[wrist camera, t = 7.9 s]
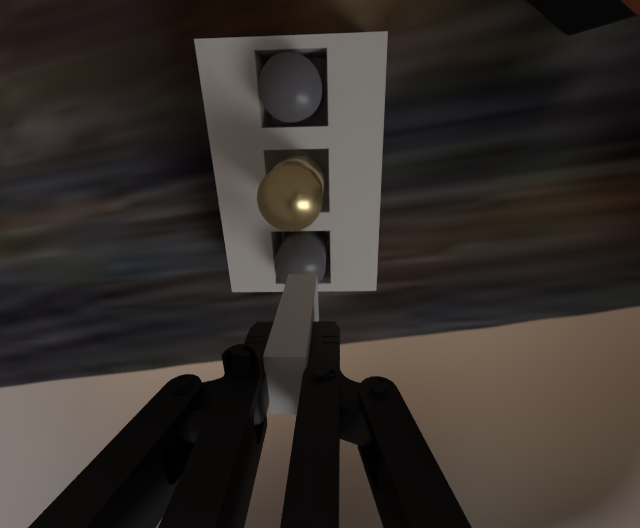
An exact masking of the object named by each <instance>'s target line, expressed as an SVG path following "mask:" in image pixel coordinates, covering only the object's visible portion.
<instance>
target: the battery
mask: <svg viewBox="0 0 640 528" xmlns="http://www.w3.org/2000/svg"><path fill="white" fill-rule="evenodd" d="M528 1H529V2H530V3H531V4H533V5H534V6H535V7H536V8H537V9H538V10H539V11H540V12H542V13H543V14H544V15H545V16H546V17H547V18H548V19H550V20H551V21H552V22H553V23H554V24H555V25H556V26H557V27H559V28H560V29H561V30H562V31H563V32H564V33H566V34H567V35H573V34H577V33H580V32H583V31H587V30H590V29H593V28H597V27H600V26H603V25H607V24H610V23H613V22H617V21H620V20H623V19H627V18H630V17H633V16H637V15H640V0H528Z"/></svg>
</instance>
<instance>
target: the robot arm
mask: <svg viewBox="0 0 640 528" xmlns="http://www.w3.org/2000/svg"><path fill="white" fill-rule="evenodd" d="M318 321H319V313H318V284H317V274H288V278H287V281H286V284H285V287H284V291H283V294H282V297H281V300H280V303H279V307H278V310H277V313H276V316H275V320H274V322H257V323H256V324H254V325H253V326H252V327H251V328H250V330H249V332H248V335H247V337H246V340H245V344H238V345H235V346H232V347H230V348H228V349H227V350H225V351H224V353H223V354H222V360H223V366H224V371H225V374H224V376H223V377H222V378H219V379H216V380H212V381H207V382H203V383H202V382H201V380H200V378H199V377H198V376H196V375H193V374H192V375H191V374H185V375H181V376H178V377H175V378H173V379H171V380H170V381H169V382H168V383H166V384H165V386H164V387H162V389H161V390H160V391H159V392H158V393H157V394H156V395H155V396H154V397H153V398H152V399H151V400H150V401H149V402H148V403H147V404H146V405H145V406H144V407H143V408H142V409H141V410H140V411H139V412H138V414H137V415H136V416H135V417H134V418H133V419H132V420H131V421H130V422H129V423H128V424H127V425H126V426H125V427H124V428H123V429H122V430H121V431H120V432H119V433H118V434H117V435H116V436H115V437H114V439H113V440H112V441H111V442H110V443H109V444H108V445H107V446H106V447H105V448H104V449H103V450H102V451H101V452H100V453H99V454H98V455H97V456H96V458H94V460H92V461H91V462H90V464H89V465H88V466H87V467H86V468H85V469H84V470H83V471H82V472H81V473H80V474H79V475H78V476H77V477H76V478H75V479H74V480H73V481H72V482H71V483H70V484H69V485H68V486H67V488H66V489H65V490H64V491H63V492H62V493H61V494H60V495H59V496H58V497H57V498H56V499H55V500H54V501H53V502H52V503H51V504H50V505H49V506H48V507H47V508H46V510H44V511H43V513H42V514H41V515H40V516H39V517H38V518H37V519H36V520H35V521H34V522H33V523H32V524H31V525H30V526H29V527H28V528H155V527H156V526H157V525H158V523H159V521H160V520H161V519H162V520H161V523H160V525H159V527H158V528H244V526H245V521H246V516H247V512H248V508H249V503H250V499H251V495H252V491H253V486H254V482H255V477H256V473H257V468H258V464H259V460H260V455H261V451H262V446H263V442H264V438H265V433H266V428H267V416H266V414H267V409H268V405H269V411H270V414H295V415H297V416H296V423H295V430H294V437H293V444H292V451H291V458H290V465H289V471H288V479H287V485H286V492H285V499H284V506H283V513H282V519H281V526H280V528H339V452H340V447H339V444H340V439H342V440H345V441H348V442H351V443H354V444H357V445H358V450H359V453H360V456H361V459H362V462H363V465H364V469H365V472H366V475H367V478H368V481H369V484H370V487H371V490H372V494H373V497H374V500H375V503H376V506H377V509H378V512H379V515H380V518H381V521H382V525H383V528H471V526H470V524H469V522H468V520H467V518H466V516H465V515H464V513H463V511H462V509H461V507H460V505H459V503H458V501H457V499H456V497H455V496H454V494H453V492H452V490H451V488H450V486H449V484H448V482H447V481H446V479H445V477H444V475H443V473H442V471H441V469H440V467H439V465H438V464H437V462H436V460H435V458H434V456H433V454H432V452H431V451H430V449H429V447H428V445H427V443H426V441H425V439H424V437H423V436H422V433H421V432H420V430H419V428H418V426H417V424H416V422H415V420H414V419H413V417H412V415H411V413H410V411H409V409H408V407H407V405H406V404H405V401H404V400H403V398H402V396H401V394H400V392H399V390H398V389H397V387H396V386H395V384H394V383H393V382H392V381H390V380H388V379H387V378H383V377H380V376H375V377H369V378H366V379H365V380H363V381H362V382H361V383H358V382H355V381H352V380H350V379H348V378H346V377H345V376H344V375H343V374H342V372H341V371H340V328H339V327H338V325H337V324H336V322H318ZM162 517H163V518H162Z"/></svg>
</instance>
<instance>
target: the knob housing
mask: <svg viewBox="0 0 640 528" xmlns="http://www.w3.org/2000/svg"><path fill="white" fill-rule="evenodd" d="M387 38H388V31H386V32H360V33H335V34H309V35H284V36H258V37H233V38H207V39H194V43H195V49H196V56H197V63H198V69H199V76H200V82H201V89H202V96H203V102H204V109H205V115H206V122H207V129H208V135H209V142H210V148H211V155H212V162H213V168H214V175H215V181H216V188H217V195H218V201H219V208H220V215H221V221H222V228H223V234H224V241H225V248H226V254H227V261H228V267H229V274H230V281H231V287H232V292H283V291H284V287H285V284H283V283H282V282H281V281H280V280H279V278H278V277H277V275H276V272H275V260H276V257H277V254H278V251H279V249H280V246H281V243H282V241H283V238H284V235H285V232H286V231H283V230H280V229H277V228H275V227H273V226H272V225H270V224H269V223H268V222H267V221H266V220H265V219H264V217H263V216H262V214H261V213H260V210H259V208H258V204H257V191H258V188H259V185H260V183H261V181H262V180H263V178H264V177H265V176H266V175H267V174H268V173H269V172H270V171H271V170H272V169H273V168H274V167H275V166H276V165H277V164H278V163H279V162H280V161H281V160H282V159H283V158H284V157H286V156H287V155H290V154H294V153H302V154H306V155H309V156H311V157H312V158H314V159H315V160H316V161H317V162H318V163H319V164H320V166H321V168H322V170H323V173H324V191H323V201H322V208H321V211H320V213H319V216H318V217H317V219H316V220H315V221H314V222H313V223H312V224H311V225H310V226H308V227H307V228H305V229H302V230H299V231H325V232H326V236H327V244H326V269H325V274H324V277H323V279H322V280H321V281H320V282H319V283H318V291H376V284H377V261H378V239H379V216H380V194H381V172H382V149H383V127H384V105H385V82H386V60H387ZM282 52H295V53H299V54H301V55H303V56H305V57H306V58H308V59H309V60H310V61H311V62H312V63H313V65H314V66H315V68H316V69H317V71H318V73H319V76H320V78H321V81H322V84H323V90H324V95H323V100H322V103H321V106H320V107H319V109H318V110H317V111H316V112H315V113H314V114H313V115H312V116H310V117H308V118H306V119H304V120H301V121H298V122H292V123H290V122H283V121H280V120H278V119H276V118H275V117H273V116H272V115H271V114H270V113H269V112H268V111H267V110H266V109H265V107H264V105H263V104H262V101H261V99H260V95H259V90H258V82H259V76H260V73H261V71H262V68H263V67H264V65H265V64H266V62H267V61H268V60H269V59H270V58H272V57H273V56H275V55H277V54H279V53H282Z"/></svg>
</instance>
